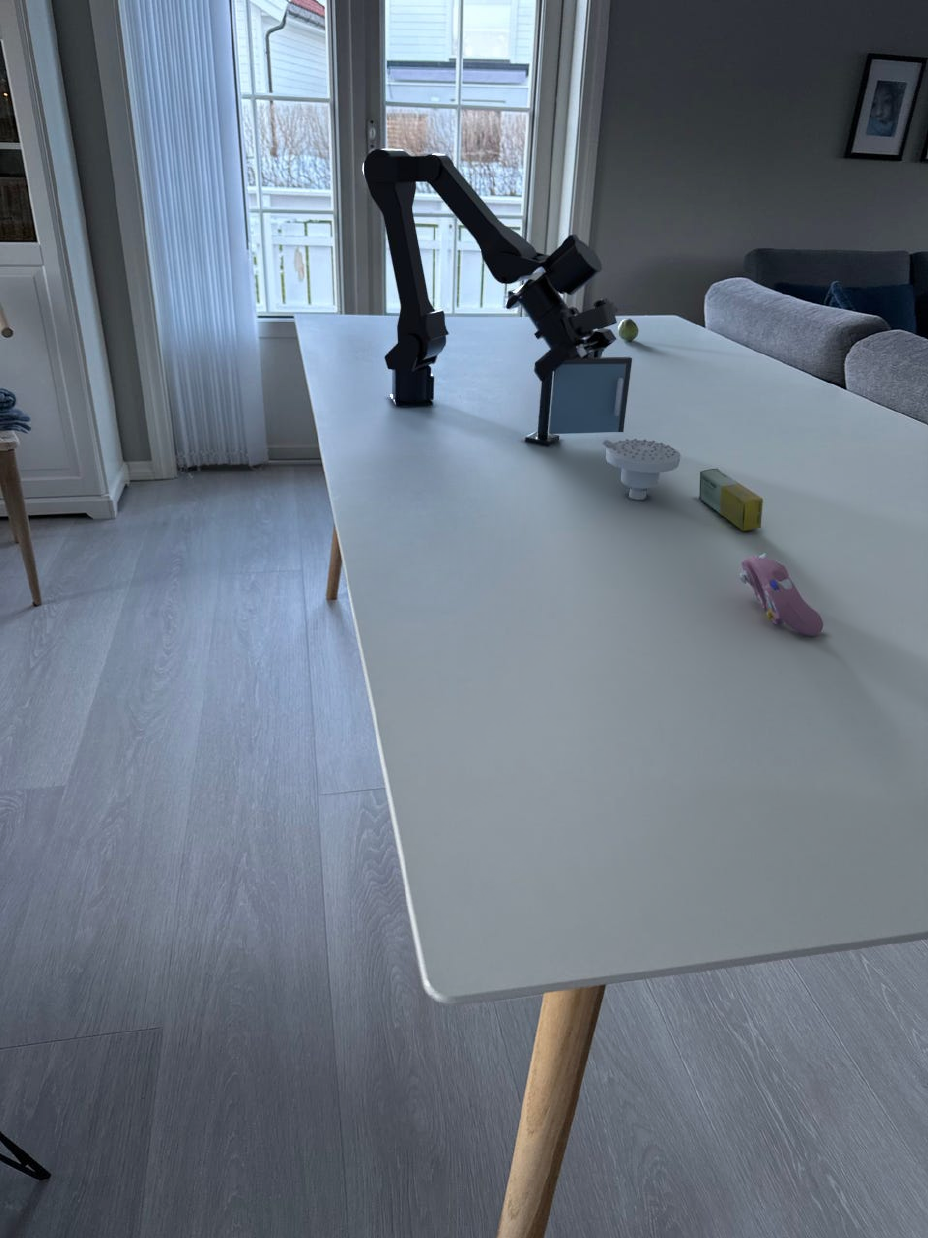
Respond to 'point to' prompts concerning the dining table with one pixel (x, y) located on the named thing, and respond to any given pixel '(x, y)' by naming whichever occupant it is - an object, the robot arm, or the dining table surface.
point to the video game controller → (780, 595)
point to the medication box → (731, 499)
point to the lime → (628, 330)
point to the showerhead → (641, 463)
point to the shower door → (590, 395)
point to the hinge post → (544, 417)
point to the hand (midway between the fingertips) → (606, 398)
